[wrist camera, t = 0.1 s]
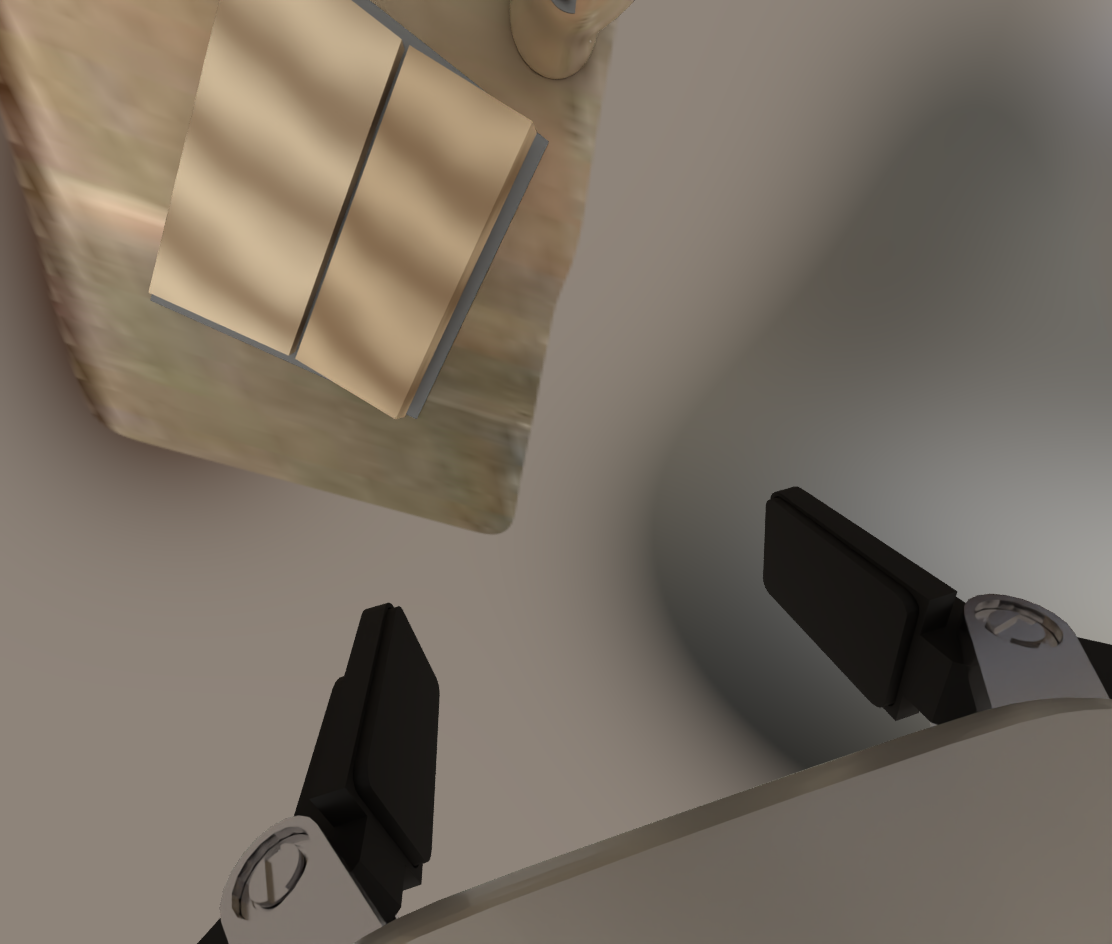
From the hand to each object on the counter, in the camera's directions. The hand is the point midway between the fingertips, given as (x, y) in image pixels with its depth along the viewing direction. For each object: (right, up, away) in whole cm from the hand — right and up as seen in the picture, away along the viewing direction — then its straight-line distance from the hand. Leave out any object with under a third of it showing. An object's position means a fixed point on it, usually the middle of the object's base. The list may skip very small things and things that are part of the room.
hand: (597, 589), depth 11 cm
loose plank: (-12, +19, +21) cm, 30 cm away
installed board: (-20, +23, +19) cm, 36 cm away
